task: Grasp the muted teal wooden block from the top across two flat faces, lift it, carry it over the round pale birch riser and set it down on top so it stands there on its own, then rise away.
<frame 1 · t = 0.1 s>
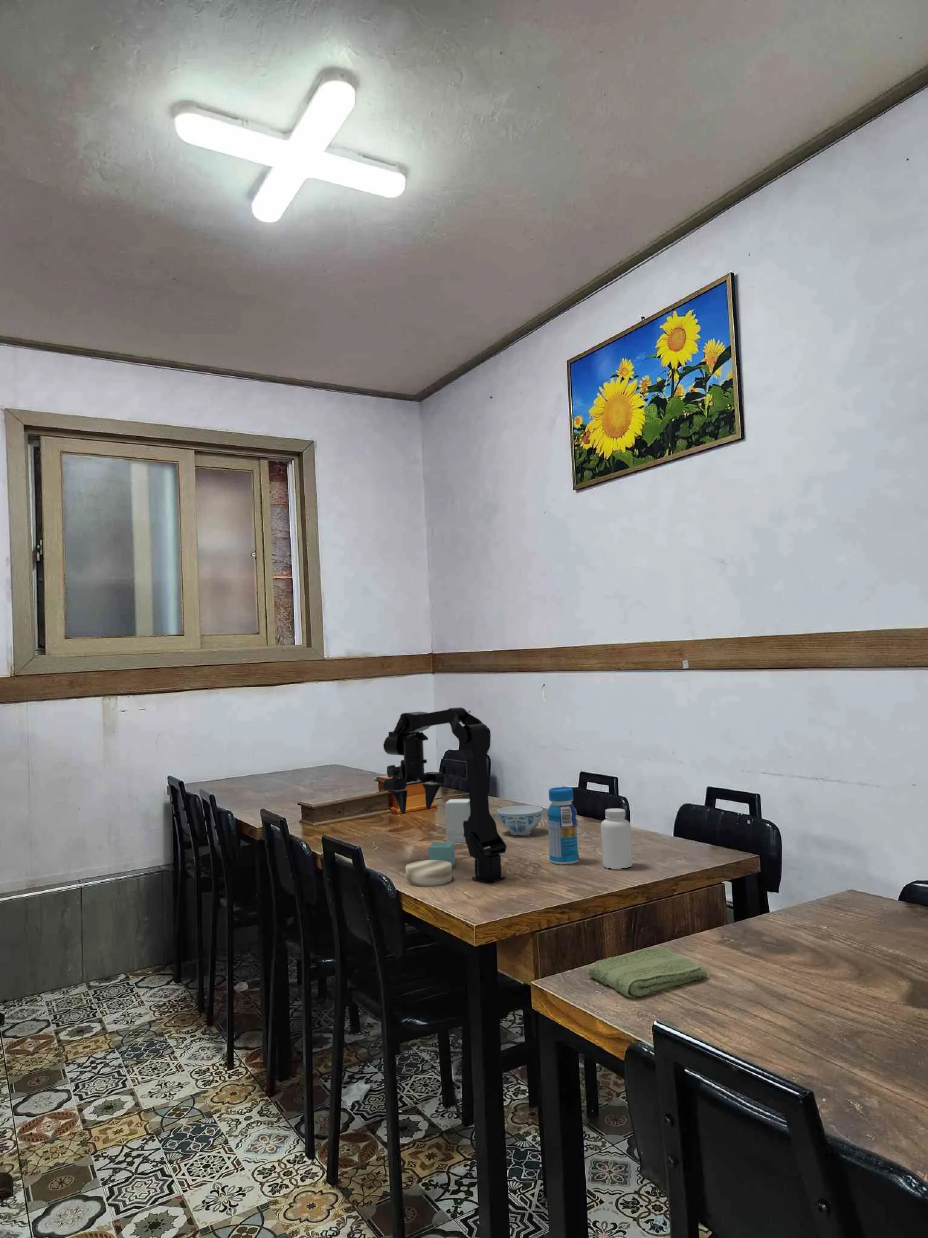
hand: (415, 811, 230), 15 cm above the table, tool pointing down, fingers open, 9 cm apart
chinaware: (520, 834, 264), on the table
pill bottle: (617, 867, 217), on the table
washcloth: (647, 981, 141), on the table
beverage bottle: (564, 862, 225), on the table
supplement box: (459, 841, 257), on the table
teal block: (442, 866, 225), on the table
birch riser: (429, 881, 211), on the table
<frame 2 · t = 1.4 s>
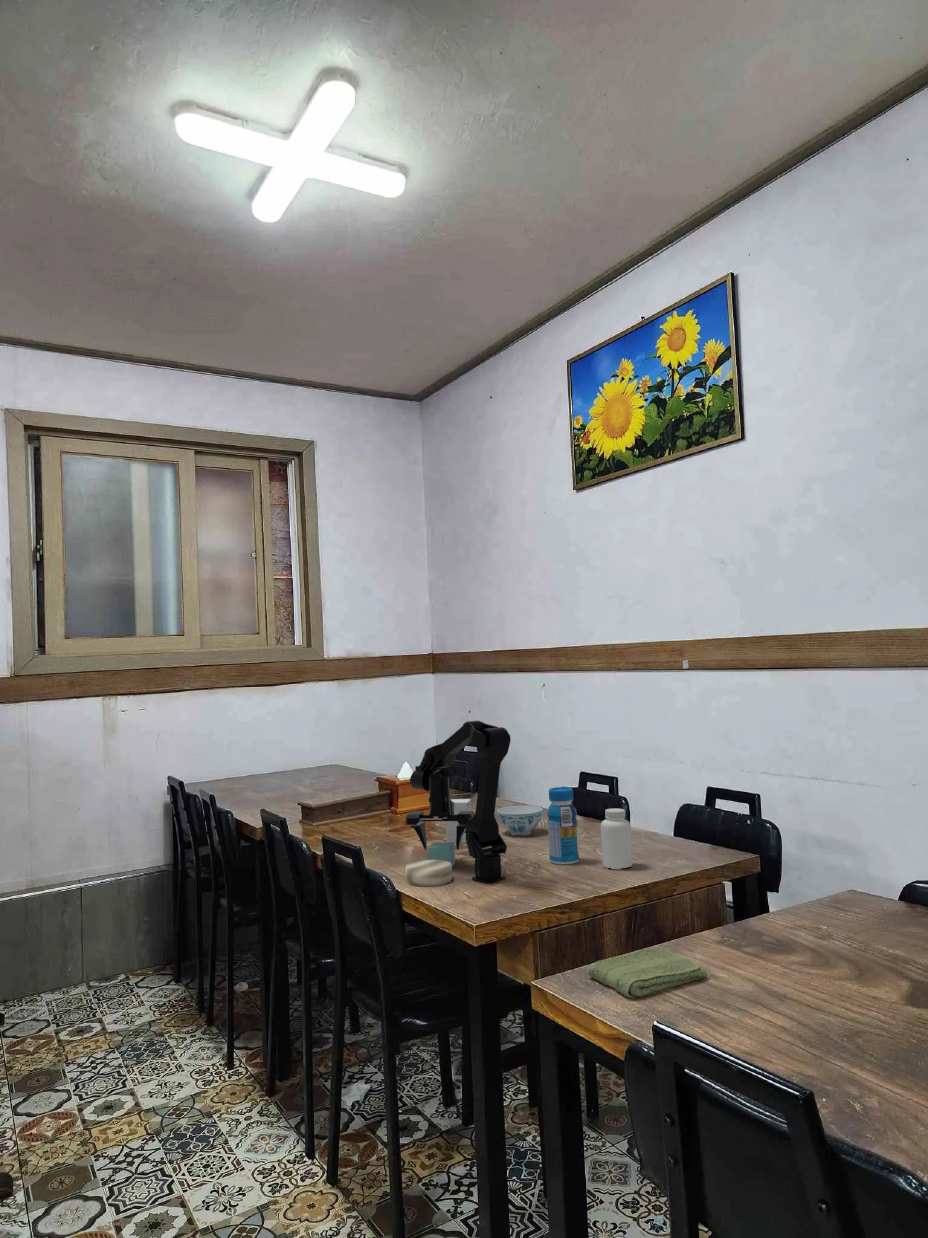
hand: (441, 849, 225), 5 cm above the table, tool pointing down, fingers open, 9 cm apart
nothing on the table moved.
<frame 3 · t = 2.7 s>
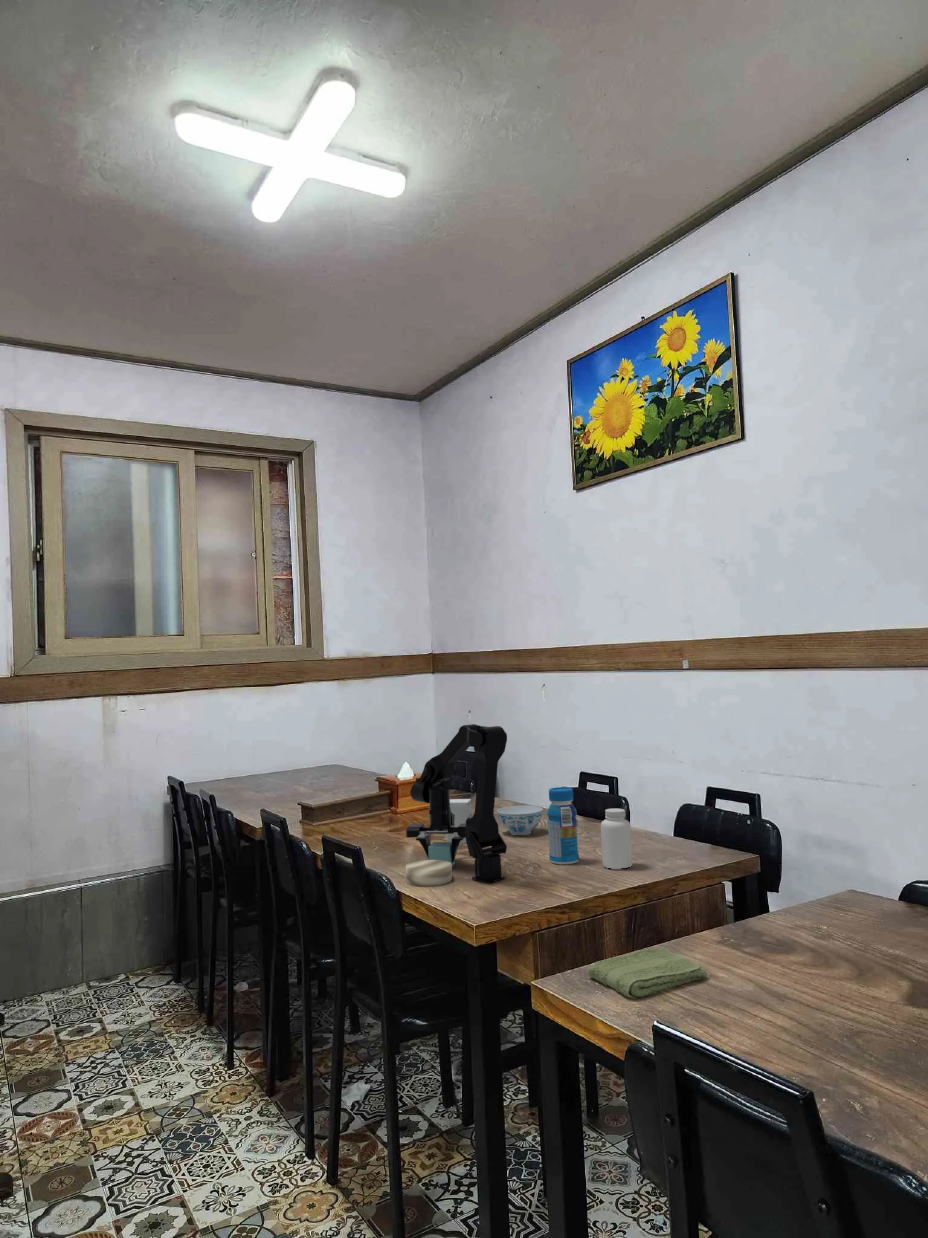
hand: (442, 861, 225), 1 cm above the table, tool pointing down, fingers closed on teal block, 6 cm apart
teal block: (442, 866, 225), on the table, touching gripper
everything else where it was.
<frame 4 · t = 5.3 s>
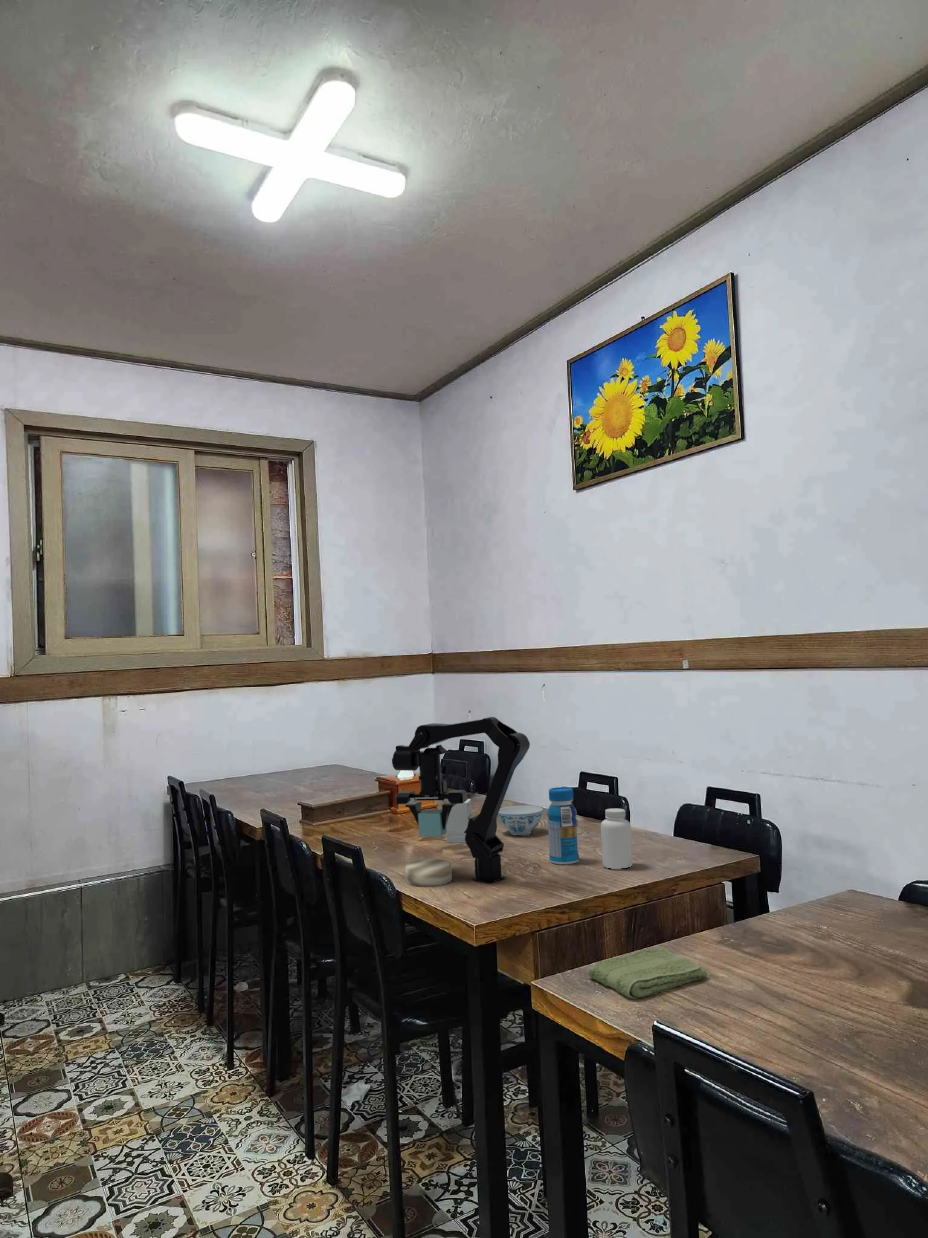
hand: (432, 829, 217), 12 cm above the table, tool pointing down, fingers closed on teal block, 6 cm apart
teal block: (433, 834, 217), point 11 cm above the table, touching gripper
everything else where it was.
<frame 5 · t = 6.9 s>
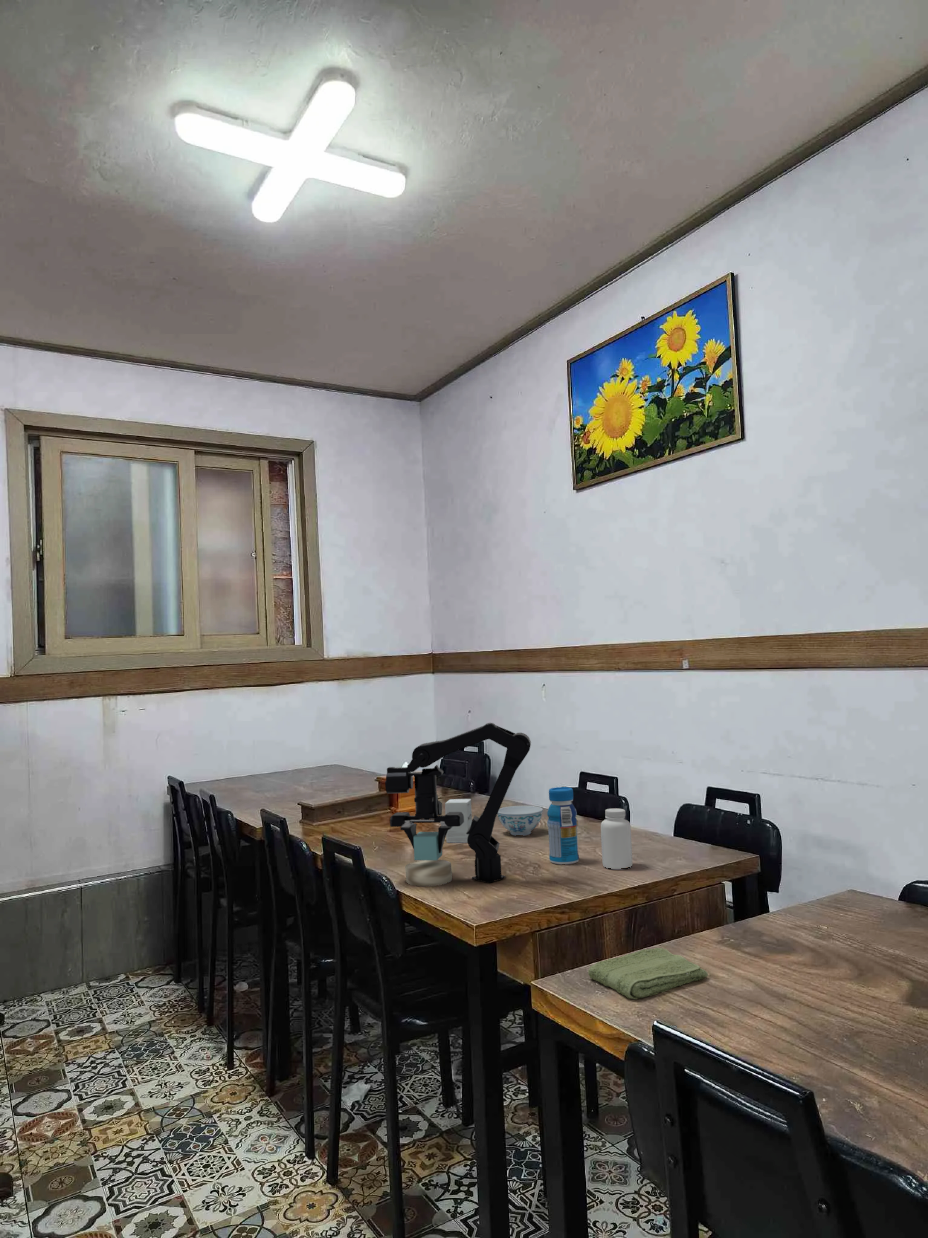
hand: (428, 852, 211), 7 cm above the table, tool pointing down, fingers closed on teal block, 6 cm apart
teal block: (428, 857, 211), point 6 cm above the table, touching gripper
everything else where it was.
when the fingers open (7 cm above the table, at t = 7.9 s): teal block drops 2 cm, resting on birch riser.
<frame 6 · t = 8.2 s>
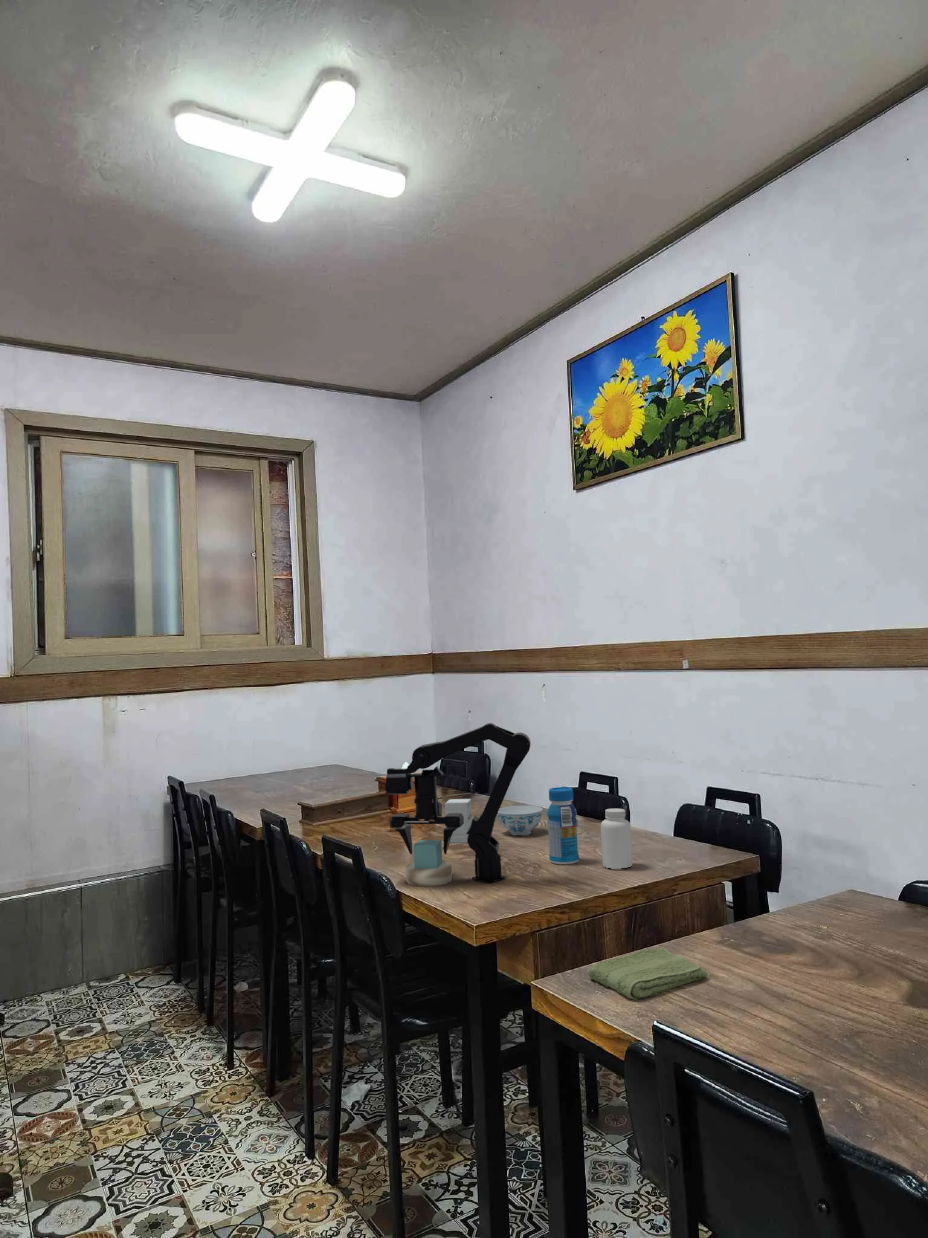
hand: (428, 854, 211), 7 cm above the table, tool pointing down, fingers open, 9 cm apart
teal block: (428, 865, 211), point 4 cm above the table, touching birch riser
birch riser: (429, 881, 211), on the table, touching teal block
everything else where it was.
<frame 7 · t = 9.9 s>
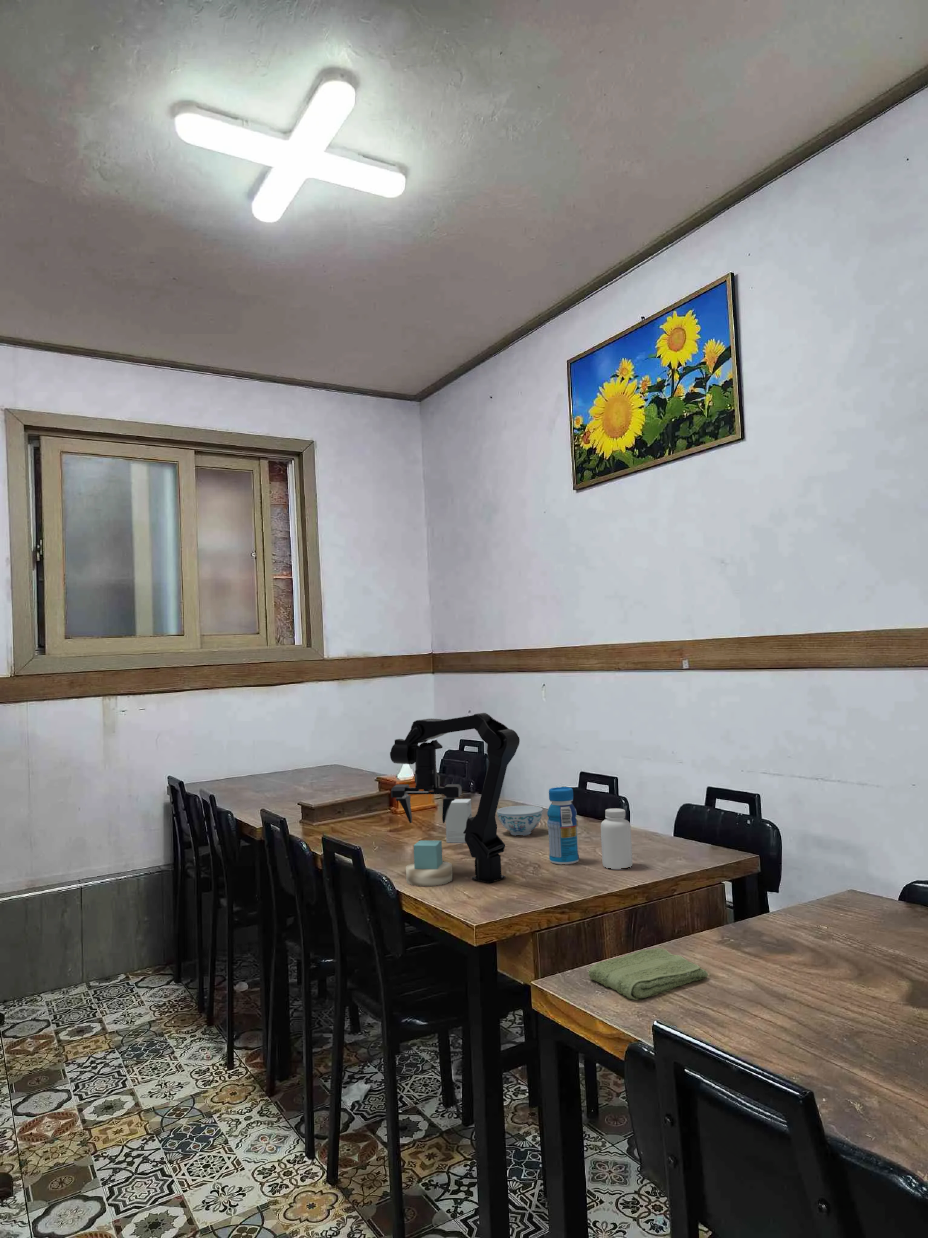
hand: (427, 823, 221), 13 cm above the table, tool pointing down, fingers open, 9 cm apart
nothing on the table moved.
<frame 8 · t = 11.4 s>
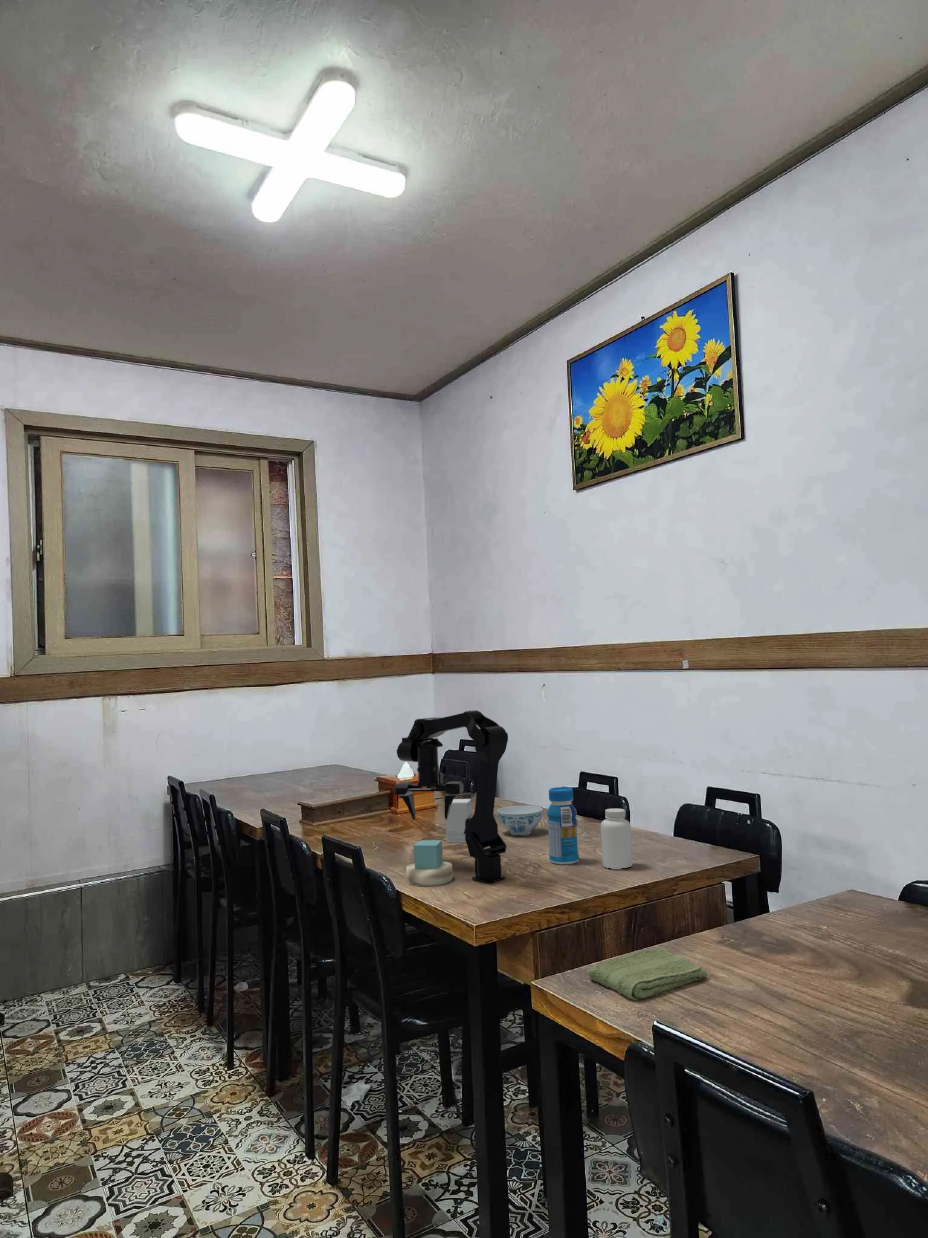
hand: (430, 819, 226), 13 cm above the table, tool pointing down, fingers open, 9 cm apart
nothing on the table moved.
at the end: teal block 0.1 cm from the birch riser (horizontally); teal block point 3.5 cm above the table; teal block tilted 0° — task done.
